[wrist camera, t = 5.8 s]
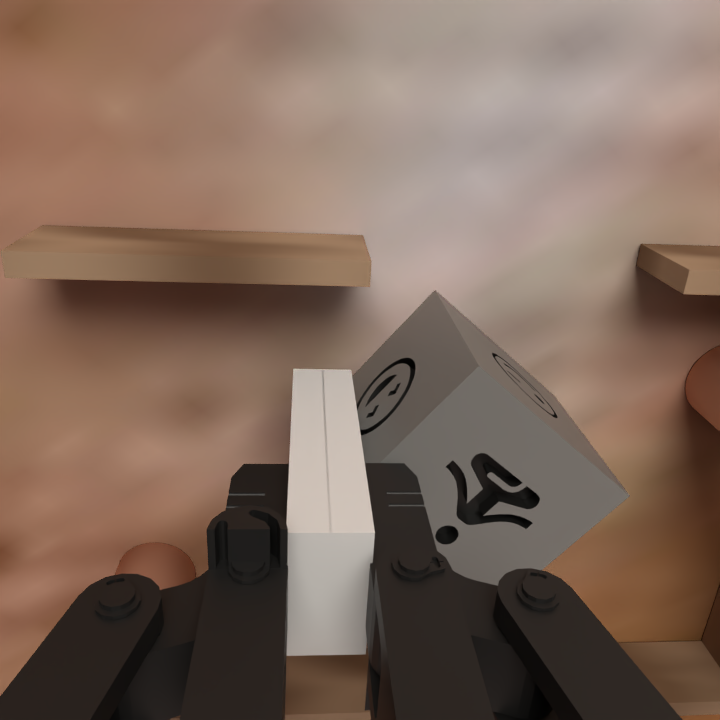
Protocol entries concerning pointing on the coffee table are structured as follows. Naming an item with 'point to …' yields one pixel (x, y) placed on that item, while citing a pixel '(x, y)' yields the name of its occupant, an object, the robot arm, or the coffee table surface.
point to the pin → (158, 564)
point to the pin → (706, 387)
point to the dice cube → (480, 445)
